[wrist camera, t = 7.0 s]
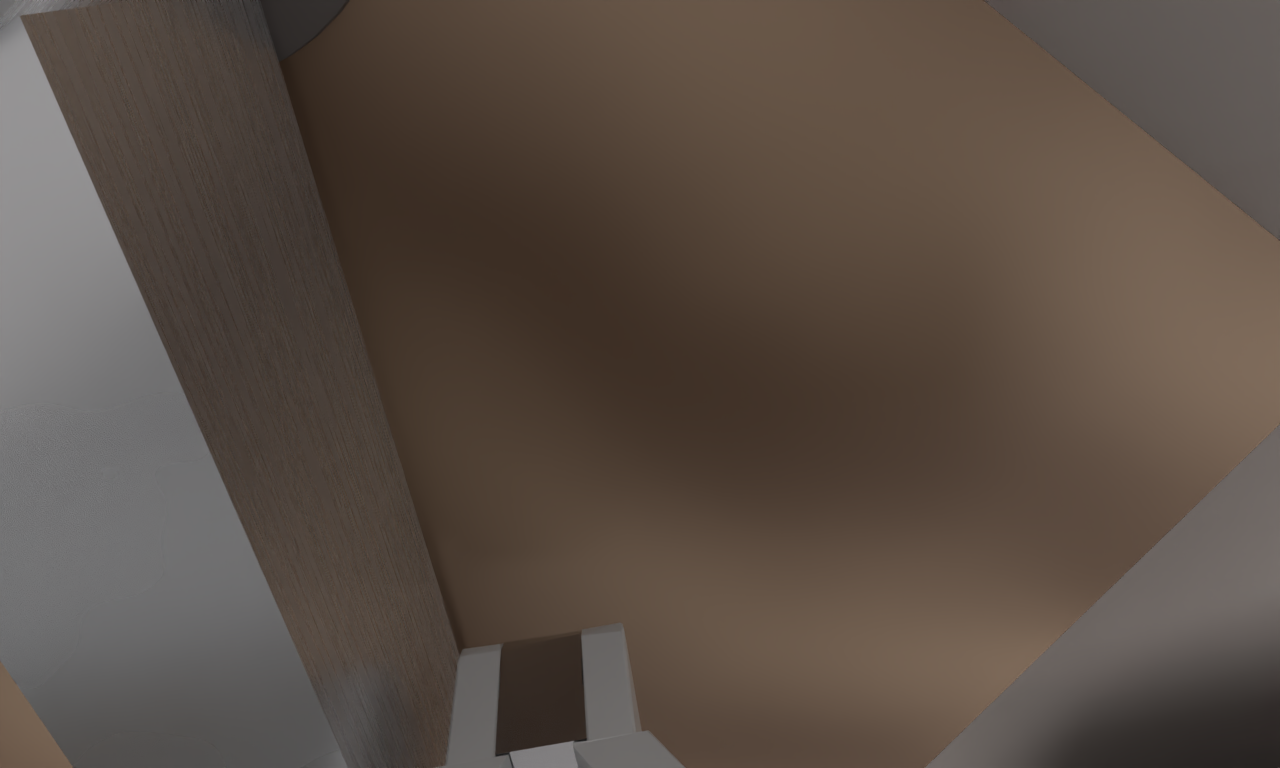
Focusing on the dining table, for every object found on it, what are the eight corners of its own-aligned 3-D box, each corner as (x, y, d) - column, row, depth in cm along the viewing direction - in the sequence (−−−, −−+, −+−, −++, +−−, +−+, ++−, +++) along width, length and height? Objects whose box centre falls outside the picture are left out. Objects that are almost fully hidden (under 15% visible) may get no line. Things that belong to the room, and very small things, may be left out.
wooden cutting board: (-177, -876, 6) (-407, -1143, 5) (1297, 286, 13) (1402, 332, 12) (-407, 812, 14) (-525, 921, 12) (602, 1003, 21) (608, 1090, 19)
